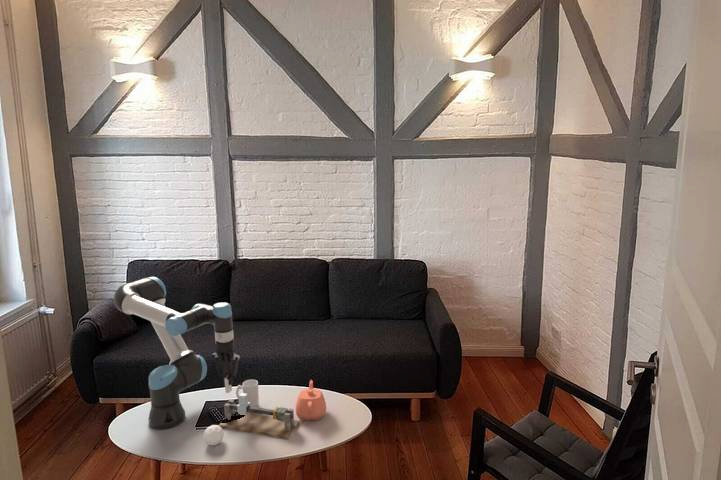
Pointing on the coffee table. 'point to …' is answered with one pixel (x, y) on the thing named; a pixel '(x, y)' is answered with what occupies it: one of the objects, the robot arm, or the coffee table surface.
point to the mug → (250, 391)
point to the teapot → (310, 404)
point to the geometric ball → (213, 434)
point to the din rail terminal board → (262, 421)
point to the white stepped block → (243, 404)
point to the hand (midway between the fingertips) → (228, 391)
